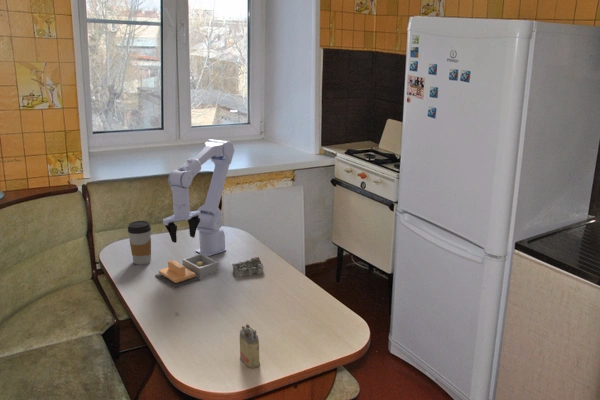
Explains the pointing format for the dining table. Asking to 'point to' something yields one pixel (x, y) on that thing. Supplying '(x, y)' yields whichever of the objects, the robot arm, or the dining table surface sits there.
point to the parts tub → (201, 265)
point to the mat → (179, 284)
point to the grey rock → (248, 267)
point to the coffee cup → (140, 241)
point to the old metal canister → (249, 347)
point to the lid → (176, 272)
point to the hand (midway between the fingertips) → (183, 239)
